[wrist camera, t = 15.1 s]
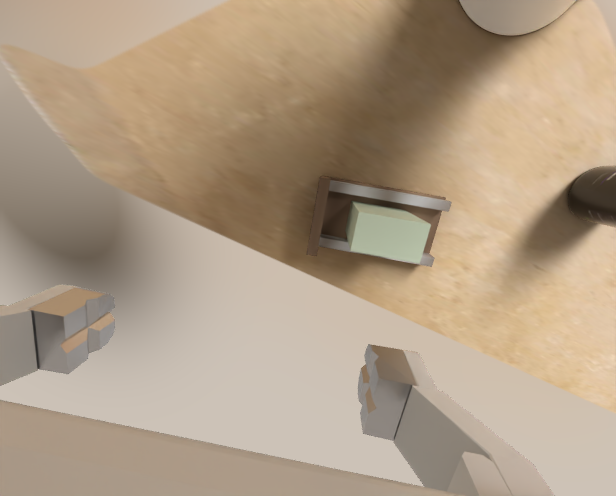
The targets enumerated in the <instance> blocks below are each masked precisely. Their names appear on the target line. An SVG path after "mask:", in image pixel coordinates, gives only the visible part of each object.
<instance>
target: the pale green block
mask: <svg viewBox="0 0 616 496" xmlns="http://www.w3.org/2000/svg"><path fill="white" fill-rule="evenodd" d="M430 227H431V224H429V223H427V222H426V221H424V220H422V219H420V218H418V217H416V216H415V215H413V214H411V213H409V212H407V211H405V210H401V209H395V208H390V207H384V206H378V205H373V204H367V203H361V202H356V201H351V206H350V211H349V215H348V220H347V225H346V230H345V231H346V235H347V239H348V243H349V247H350V251H354V252H359V253H365V254H370V255H376V256H381V257H387V258H392V259H398V260H403V261H409V262H414V263H420V261H421V258H422V254H423V251H424V247H425V244H426V241H427V237H428V234H429V230H430Z"/></svg>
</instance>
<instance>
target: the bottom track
mask: <svg viewBox="0 0 616 496" xmlns="http://www.w3.org/2000/svg"><path fill="white" fill-rule="evenodd" d="M445 199H446V198H445V197H440V196H434V195H428V194H423V193H417V192H411V191H405V190H400V189H394V188H388V187H383V186H377V185H371V184H366V183H360V182H354V181H348V180H343V179H337V178H331V177H326V176H321V177H320V180H319V186H318V192H317V197H316V203H315V209H314V215H313V220H312V226H311V232H310V238H309V243H308V249H307V255H313V256H317V251H318V246H320V247H326V248H331V249H337V250H342V251H348V252H353V253H359V252H354V251H350V247H349V243H348V239H347V235H346V231H345V230H346V225H347V220H348V215H349V211H350V206H351V201H356V202H361V203H367V204H373V205H378V206H384V207H390V208H395V209H401V210H405V211H407V212H409V213H411V214H413V215H415V216H416V217H418V218H420V219H422V220H424V221H426V222H427V223H429V224H431V227H430V230H429V234H428V237H427V241H426V244H425V247H424V251H423V254H422V258H421V261H420V263H414V262H409V261H403V260H398V259H392V258H387V257H381V256H376V255H370V254H365V253H359V254H364V255H370V256H375V257H381V258H386V259H392V260H397V261H403V262H408V263H414V264H419V265H425V266H430V267H432V265H433V261H434V257H433V256H431V255H430V254H429V253H430V249H431V246H432V243H433V239H434V236H435V233H436V229H437V226H438V223H439V219H440V216H441V212H442V211H448V212H449V209H450V206H451V202H450V201H446V200H445Z"/></svg>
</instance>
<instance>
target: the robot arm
mask: <svg viewBox="0 0 616 496" xmlns="http://www.w3.org/2000/svg"><path fill="white" fill-rule="evenodd" d="M459 1H460V3H461V5H462V7H463V9H464V10H465V12H466V13H467V15H468V16H469V17H470V18H471V19H472V20H473V21H474V22H475V23H476V24H477V25H479V26H480V27H482V28H483V29H485V30H487V31H490V32H492V33H496V34H500V35H521V34H526V33H530V32H533V31H536V30H538V29H540V28H542V27H544V26H546V25H548V24H550V23H551V22H553V21H554V20H556V19H557V18H558V17H559V16H561V15H562V14H563V13H564V12H565V11H566V10H567V9H568V8H569V7H570V6H571V5H572V4H573V3H574V2H576V1H577V0H459ZM114 308H115V304H114V297H113V296H112V295H111V294H108V293H103V292H99V291H94V290H90V289H85V288H79V287H76V286H70V285H61V284H60V285H57V286H55V287H52V288H50V289H47V290H45V291H43V292H40V293H38V294H36V295H33V296H31V297H28V298H26V299H24V300H21V301H19V302H16V303H14V304H12V305H9V306H5V305H0V386H1V385H4V384H6V383H9V382H11V381H13V380H16V379H18V378H20V377H23V376H26V375H28V374H30V373H33V372H35V371H37V370H38V369H41V370H48V371H53V372H59V373H65V374H69V373H70V372H72V371H73V370H74V369H75V368H77V367H78V366H79V365H80V364H82V363H83V362H84V361H86V360H87V359H88V355H89V353H91V352H94V351H96V350H99V349H101V348H102V347H103V346H105V345H106V344H107V343H108V342H109V340H110V338H111V337H112V335H113V333H114V329H115V319H114V318H113V316H112V315H111V313H110V312H111V311H112V310H113V309H114ZM365 361H366V365H365V366H363V367H362V368H361V372H360V376H359V383H358V398H359V402H360V403H361V404H362V409H361V412H360V414H361V422H362V430H363V434H367V435H371V436H375V437H380V438H384V439H388V440H393V441H394V443H395V445H396V446H397V448H398V449H399V451H400V452H401V454H402V455H403V456H404V458H405V459H406V461H407V462H408V464H409V465H410V466H411V468H412V469H413V471H414V472H415V474H416V475H417V477H418V478H419V479H420V481H421V482H422V484H423V485H424V487H422V486H417V485H412V484H407V483H402V482H398V481H393V480H388V479H383V478H377V477H373V476H368V475H363V474H358V473H353V472H348V471H342V470H338V469H333V468H328V467H324V466H319V465H314V464H309V463H304V462H300V461H295V460H290V459H285V458H280V457H275V456H270V455H265V454H261V453H256V452H251V451H246V450H241V449H236V448H231V447H227V446H222V445H217V444H213V443H207V442H203V441H198V440H193V439H188V438H183V437H178V436H173V435H169V434H164V433H159V432H154V431H149V430H144V429H139V428H134V427H129V426H124V425H120V424H114V423H109V422H105V421H100V420H94V419H90V418H85V417H80V416H75V415H70V414H65V413H61V412H56V411H51V410H46V409H41V408H37V407H32V406H27V405H22V404H17V403H12V402H7V401H3V400H0V496H555V495H554V494H553V492H552V491H551V489H550V488H549V486H548V485H547V483H546V482H545V480H544V479H543V478H542V476H541V475H540V473H539V472H538V471H537V469H536V467H535V466H534V464H532V463H531V462H530V461H529V460H528V459H526V458H525V457H524V456H522V455H521V454H520V453H519V452H518V451H516V450H515V449H514V448H513V447H511V446H510V445H509V444H508V443H506V442H505V441H504V440H503V439H501V438H500V437H499V436H498V435H496V434H495V433H494V432H493V431H492V430H490V429H489V428H488V427H487V426H485V425H484V424H483V423H482V422H480V421H479V420H478V419H477V418H475V417H474V416H473V415H472V414H470V413H469V412H468V411H467V410H466V409H464V408H463V407H462V406H460V405H459V404H458V403H457V402H456V401H454V400H453V399H451V397H449V396H448V395H447V394H446V393H444V392H443V391H439V390H437V388H436V386H435V384H434V382H433V380H432V378H431V376H430V374H429V372H428V370H427V368H426V366H425V364H424V362H423V360H422V358H421V356H420V354H419V353H418V352H413V351H407V350H400V349H394V348H388V347H382V346H376V345H370V344H369V345H368V346H367V349H366V352H365Z"/></svg>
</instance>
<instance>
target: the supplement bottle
mask: <svg viewBox="0 0 616 496" xmlns="http://www.w3.org/2000/svg"><path fill="white" fill-rule="evenodd" d="M568 204H569V207H570V210H571V211H572V213H573V214H574V215H575V216H577V217H578V218H580V219H582V220H585V221H589V222H593V223H598V224H602V225H607V226H612V227H616V166H601V167H597V168H594V169H591V170H589V171H587V172H585V173H584V174H582V175H581V176H580V177H579V178H578V179H577V180H576V181H575V182H574V184H573V185H572V187H571V189H570V191H569V195H568Z"/></svg>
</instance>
